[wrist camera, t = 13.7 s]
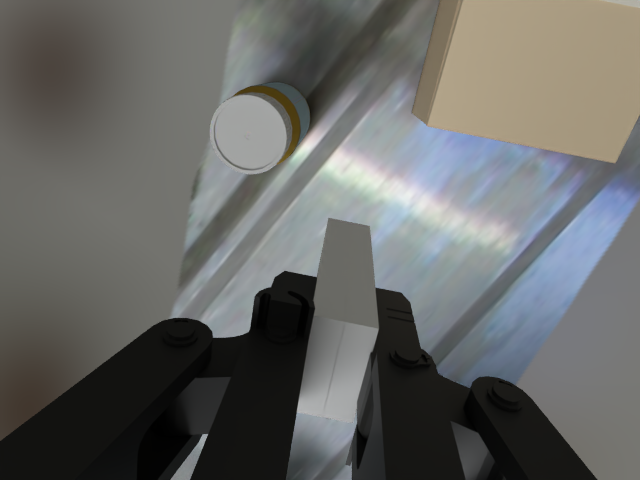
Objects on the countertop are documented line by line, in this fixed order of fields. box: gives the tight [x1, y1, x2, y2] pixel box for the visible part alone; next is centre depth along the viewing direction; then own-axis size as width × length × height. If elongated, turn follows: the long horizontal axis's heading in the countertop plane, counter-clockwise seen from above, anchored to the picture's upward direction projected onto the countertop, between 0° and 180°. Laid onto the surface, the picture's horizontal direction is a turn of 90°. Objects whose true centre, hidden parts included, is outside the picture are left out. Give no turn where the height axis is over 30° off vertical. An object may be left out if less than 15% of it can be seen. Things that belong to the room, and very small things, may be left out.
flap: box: [426, 0, 640, 163], centre depth 34 cm, size 14×16×1 cm
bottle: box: [210, 82, 310, 174], centre depth 41 cm, size 7×7×15 cm
